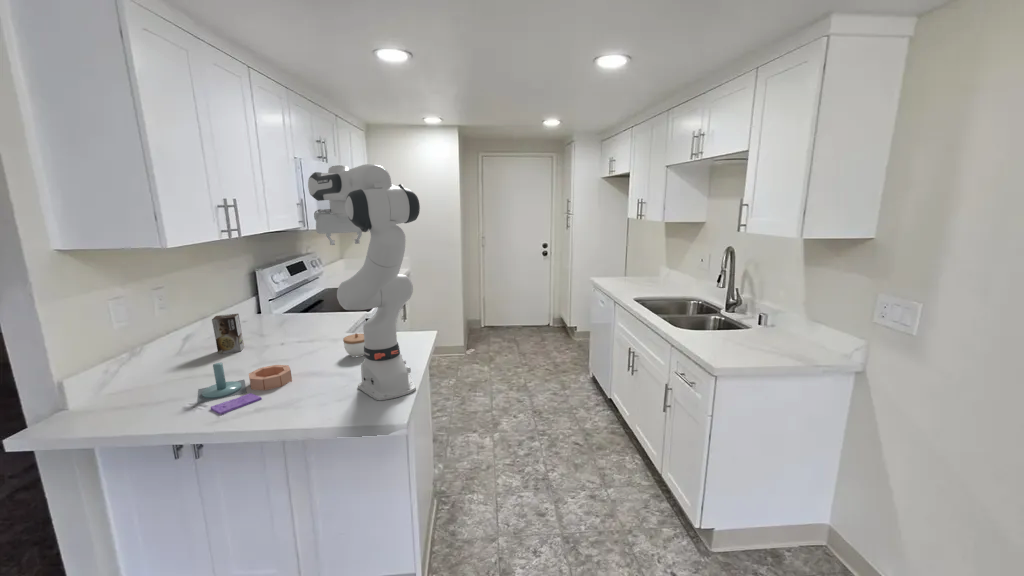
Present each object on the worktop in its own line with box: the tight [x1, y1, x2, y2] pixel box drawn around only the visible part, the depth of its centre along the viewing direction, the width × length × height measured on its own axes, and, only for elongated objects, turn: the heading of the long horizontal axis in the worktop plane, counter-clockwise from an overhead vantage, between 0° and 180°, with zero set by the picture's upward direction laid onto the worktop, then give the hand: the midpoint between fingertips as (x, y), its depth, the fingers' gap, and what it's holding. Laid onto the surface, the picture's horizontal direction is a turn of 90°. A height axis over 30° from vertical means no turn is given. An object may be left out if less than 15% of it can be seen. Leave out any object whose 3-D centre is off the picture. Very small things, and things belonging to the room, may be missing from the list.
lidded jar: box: [342, 333, 365, 358], centre depth 185 cm, size 11×11×9 cm
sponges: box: [210, 392, 262, 415], centre depth 142 cm, size 7×13×2 cm, turn 145°
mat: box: [196, 379, 248, 405], centre depth 152 cm, size 14×14×1 cm
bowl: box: [248, 364, 293, 391], centre depth 158 cm, size 13×13×4 cm
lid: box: [202, 362, 242, 398], centre depth 151 cm, size 12×12×10 cm
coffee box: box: [211, 313, 245, 355], centre depth 193 cm, size 9×6×16 cm
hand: (345, 244), depth 173 cm, fingers open, 8 cm apart
